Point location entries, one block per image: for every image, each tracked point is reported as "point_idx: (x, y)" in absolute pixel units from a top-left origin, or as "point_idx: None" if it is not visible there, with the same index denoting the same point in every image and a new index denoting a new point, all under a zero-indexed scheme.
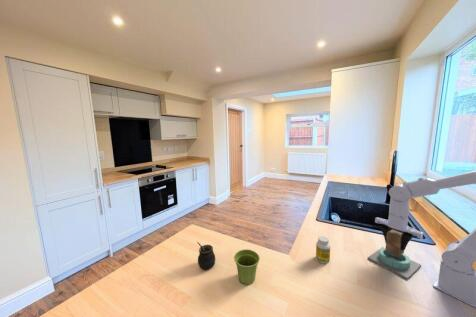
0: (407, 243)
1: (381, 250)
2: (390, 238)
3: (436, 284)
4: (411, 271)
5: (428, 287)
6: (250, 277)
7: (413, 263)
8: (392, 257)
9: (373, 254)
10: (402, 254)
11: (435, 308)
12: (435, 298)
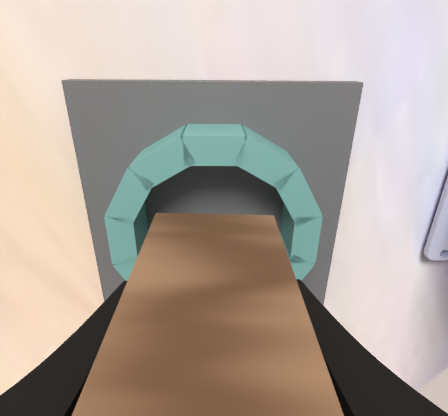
0: (345, 338)
1: (125, 258)
2: None
3: (441, 239)
4: (324, 237)
5: (401, 275)
6: None
7: (316, 123)
8: (191, 180)
9: (103, 259)
10: (250, 167)
11: (423, 371)
12: (425, 322)
